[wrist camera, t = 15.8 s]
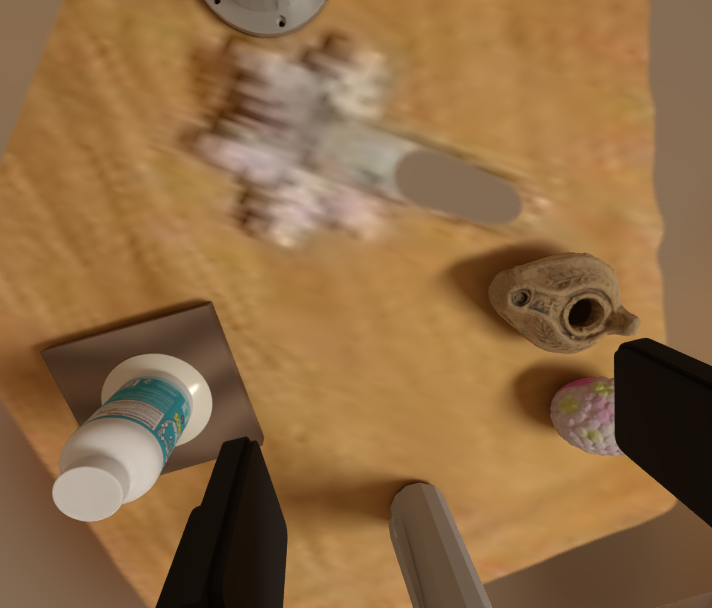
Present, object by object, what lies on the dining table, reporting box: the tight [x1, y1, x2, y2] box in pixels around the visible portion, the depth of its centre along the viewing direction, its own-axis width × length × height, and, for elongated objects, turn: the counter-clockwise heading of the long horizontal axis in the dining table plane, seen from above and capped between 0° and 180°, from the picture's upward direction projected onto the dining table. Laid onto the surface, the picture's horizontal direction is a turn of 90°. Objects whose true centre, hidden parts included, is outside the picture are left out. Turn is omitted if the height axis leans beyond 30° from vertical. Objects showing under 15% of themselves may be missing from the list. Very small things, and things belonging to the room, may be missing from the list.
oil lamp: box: [488, 253, 641, 354], centre depth 40 cm, size 11×15×8 cm
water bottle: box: [389, 482, 492, 608], centre depth 37 cm, size 9×8×25 cm
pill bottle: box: [52, 372, 193, 521], centre depth 34 cm, size 8×7×14 cm
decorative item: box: [550, 377, 625, 456], centre depth 45 cm, size 9×11×10 cm
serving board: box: [40, 302, 264, 475], centre depth 41 cm, size 17×17×2 cm
